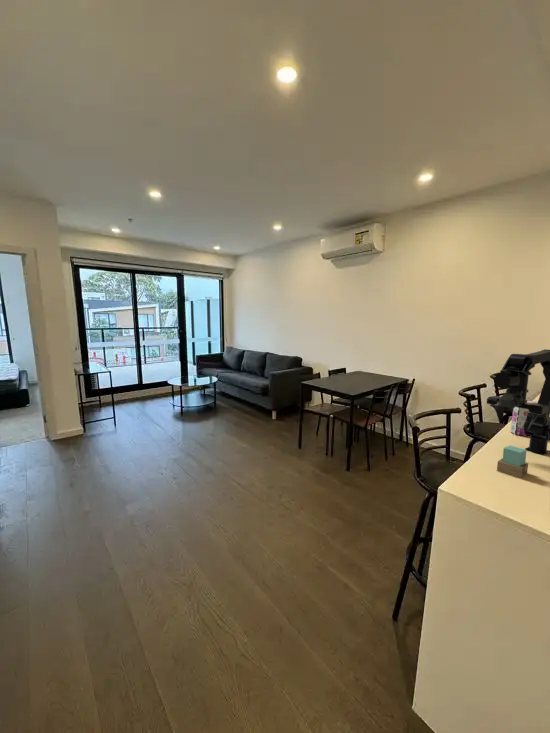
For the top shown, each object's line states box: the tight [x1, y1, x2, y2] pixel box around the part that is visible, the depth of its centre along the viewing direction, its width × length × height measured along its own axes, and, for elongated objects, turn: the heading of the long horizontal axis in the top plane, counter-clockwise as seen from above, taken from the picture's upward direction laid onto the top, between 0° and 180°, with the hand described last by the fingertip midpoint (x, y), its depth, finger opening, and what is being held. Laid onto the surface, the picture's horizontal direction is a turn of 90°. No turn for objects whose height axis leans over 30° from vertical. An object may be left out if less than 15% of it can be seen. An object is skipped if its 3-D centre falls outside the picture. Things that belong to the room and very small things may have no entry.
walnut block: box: [496, 457, 529, 480], centre depth 113 cm, size 7×7×4 cm
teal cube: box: [502, 445, 528, 467], centre depth 112 cm, size 5×5×5 cm
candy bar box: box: [510, 400, 538, 436], centre depth 153 cm, size 11×5×16 cm, turn 78°
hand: (513, 425), depth 125 cm, fingers open, 9 cm apart
